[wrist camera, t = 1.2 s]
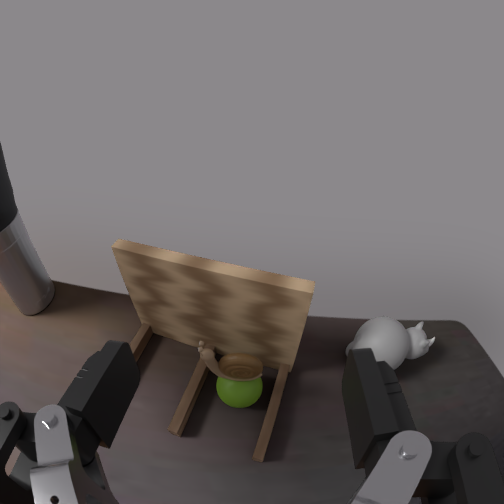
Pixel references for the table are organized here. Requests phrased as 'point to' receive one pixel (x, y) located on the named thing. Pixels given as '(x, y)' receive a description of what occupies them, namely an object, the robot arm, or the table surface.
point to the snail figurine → (235, 377)
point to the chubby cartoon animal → (391, 340)
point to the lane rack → (215, 315)
